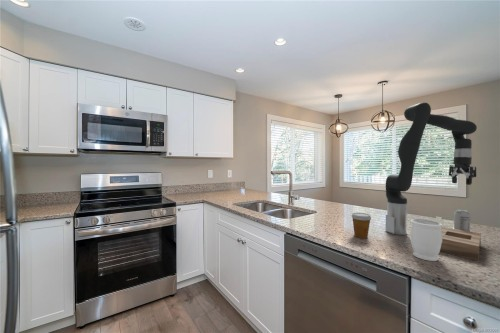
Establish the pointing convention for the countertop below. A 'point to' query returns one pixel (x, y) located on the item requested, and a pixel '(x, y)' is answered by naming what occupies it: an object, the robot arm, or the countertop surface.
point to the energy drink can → (462, 220)
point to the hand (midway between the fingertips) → (461, 183)
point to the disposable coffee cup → (361, 224)
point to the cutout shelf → (461, 243)
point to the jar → (426, 239)
